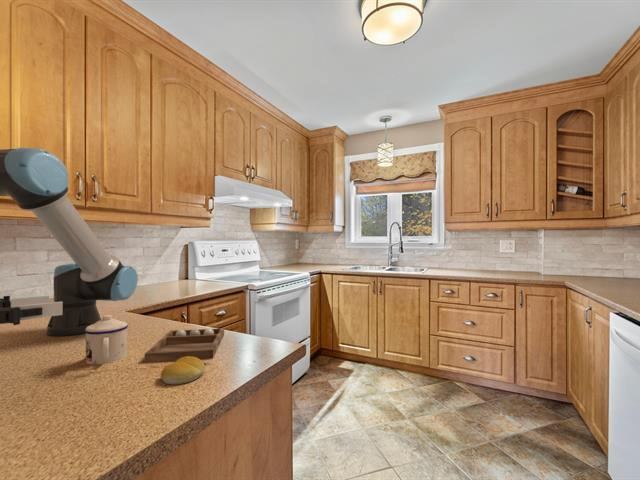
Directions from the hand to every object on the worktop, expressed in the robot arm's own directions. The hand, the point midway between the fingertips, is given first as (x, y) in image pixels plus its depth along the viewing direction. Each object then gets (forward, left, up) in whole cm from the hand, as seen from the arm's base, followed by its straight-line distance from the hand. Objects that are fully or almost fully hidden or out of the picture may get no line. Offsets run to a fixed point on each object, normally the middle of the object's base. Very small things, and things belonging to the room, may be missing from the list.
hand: (55, 304), depth 72 cm
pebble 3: (-20, +30, -15) cm, 39 cm away
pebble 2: (-20, +26, -15) cm, 36 cm away
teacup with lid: (-7, +8, -16) cm, 19 cm away
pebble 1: (-20, +22, -15) cm, 33 cm away
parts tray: (-14, +26, -16) cm, 33 cm away
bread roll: (+5, +28, -17) cm, 33 cm away
